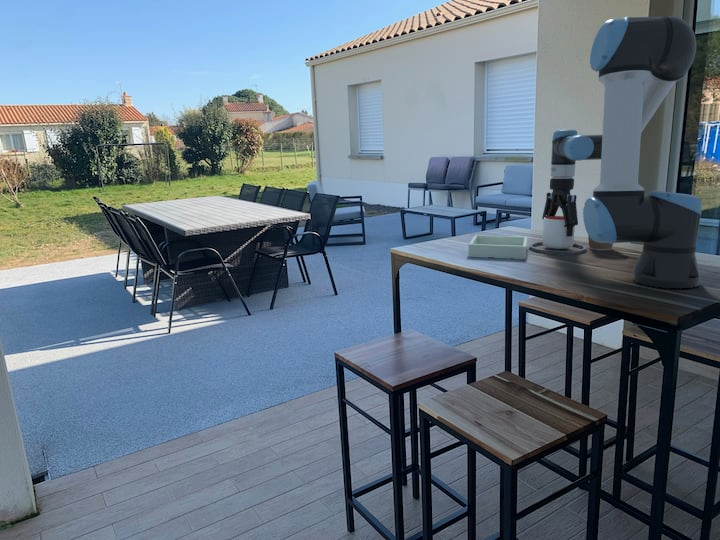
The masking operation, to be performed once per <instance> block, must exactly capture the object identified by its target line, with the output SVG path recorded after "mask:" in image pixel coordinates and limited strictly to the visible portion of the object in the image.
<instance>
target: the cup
mask: <svg viewBox="0 0 720 540" xmlns="http://www.w3.org/2000/svg"><path fill="white" fill-rule="evenodd" d="M564 225H566V224H565V220H564V216H563V215H559V216H558V215H555V216H548V217H544V219H543V227H542V228H543V230H542V242H543V245H542V246H544V247H546V248H549V249H554V250H555V249H557V250H558V249H559V250H560V249H563V250H564V249H569V248H572V247H574V246H573V244H574V243H575V240H574V239H575V229H576V225H575V226H573V234H572V242H571V246H563V234H564Z"/></svg>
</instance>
